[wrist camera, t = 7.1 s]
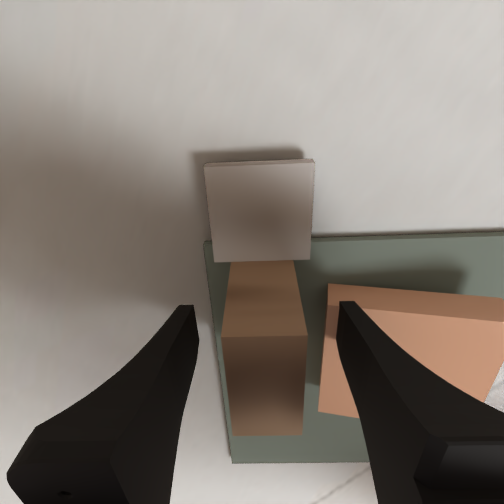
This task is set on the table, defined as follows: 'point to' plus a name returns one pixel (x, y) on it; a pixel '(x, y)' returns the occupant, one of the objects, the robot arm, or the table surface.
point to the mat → (314, 307)
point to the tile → (419, 338)
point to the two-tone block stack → (262, 288)
